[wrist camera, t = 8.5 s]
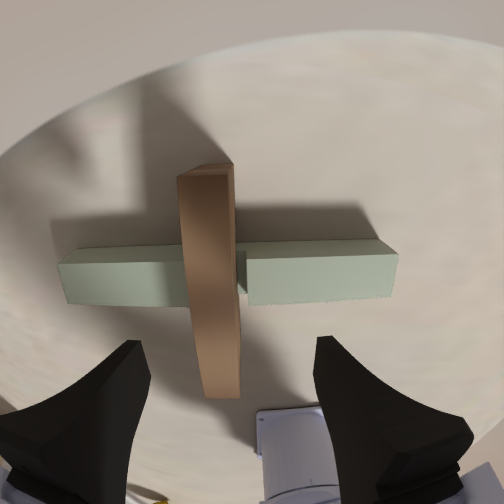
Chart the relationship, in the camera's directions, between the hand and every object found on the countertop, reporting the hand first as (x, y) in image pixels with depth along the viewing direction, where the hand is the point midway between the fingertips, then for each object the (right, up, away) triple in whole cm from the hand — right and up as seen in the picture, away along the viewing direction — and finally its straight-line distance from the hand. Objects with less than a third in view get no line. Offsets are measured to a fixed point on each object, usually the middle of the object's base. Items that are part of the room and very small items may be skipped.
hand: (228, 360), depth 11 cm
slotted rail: (-1, +4, +9) cm, 9 cm away
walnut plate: (-1, +4, +8) cm, 9 cm away
